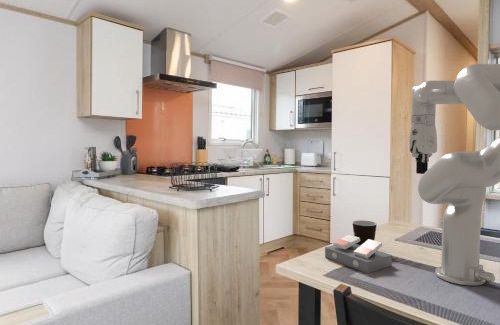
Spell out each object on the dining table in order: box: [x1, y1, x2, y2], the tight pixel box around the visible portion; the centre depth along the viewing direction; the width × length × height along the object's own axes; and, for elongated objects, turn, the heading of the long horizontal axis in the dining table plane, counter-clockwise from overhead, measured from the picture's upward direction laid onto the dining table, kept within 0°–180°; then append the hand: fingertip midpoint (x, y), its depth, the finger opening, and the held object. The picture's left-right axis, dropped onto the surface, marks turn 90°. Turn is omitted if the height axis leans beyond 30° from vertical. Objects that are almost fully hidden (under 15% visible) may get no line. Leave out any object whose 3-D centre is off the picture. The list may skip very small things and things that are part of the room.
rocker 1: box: [332, 234, 360, 250], centre depth 119 cm, size 5×8×1 cm, turn 122°
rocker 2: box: [354, 239, 383, 259], centre depth 111 cm, size 5×8×1 cm, turn 122°
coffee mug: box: [352, 219, 378, 245], centre depth 129 cm, size 12×9×10 cm
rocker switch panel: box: [324, 244, 393, 274], centre depth 115 cm, size 18×12×4 cm
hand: (421, 173), depth 120 cm, fingers closed
